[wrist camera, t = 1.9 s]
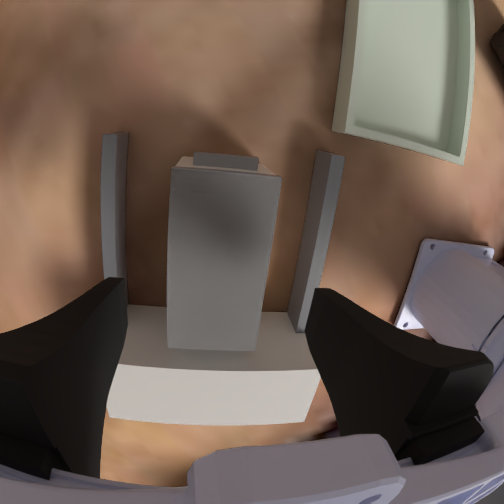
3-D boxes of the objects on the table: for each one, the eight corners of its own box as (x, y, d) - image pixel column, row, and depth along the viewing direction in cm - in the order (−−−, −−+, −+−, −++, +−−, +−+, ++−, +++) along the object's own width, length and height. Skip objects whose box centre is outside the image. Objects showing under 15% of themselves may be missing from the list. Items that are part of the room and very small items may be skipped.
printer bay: (329, 152, 18) (376, 166, 13) (285, 364, 24) (303, 421, 19) (115, 132, 16) (76, 138, 11) (124, 358, 22) (109, 417, 17)
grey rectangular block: (262, 152, 18) (283, 165, 13) (243, 298, 22) (254, 350, 17) (182, 145, 17) (172, 154, 12) (174, 295, 21) (167, 347, 16)
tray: (456, -1, 14) (472, -6, 13) (445, 161, 20) (463, 165, 18) (349, -52, 13) (361, -64, 11) (331, 131, 18) (344, 132, 16)
